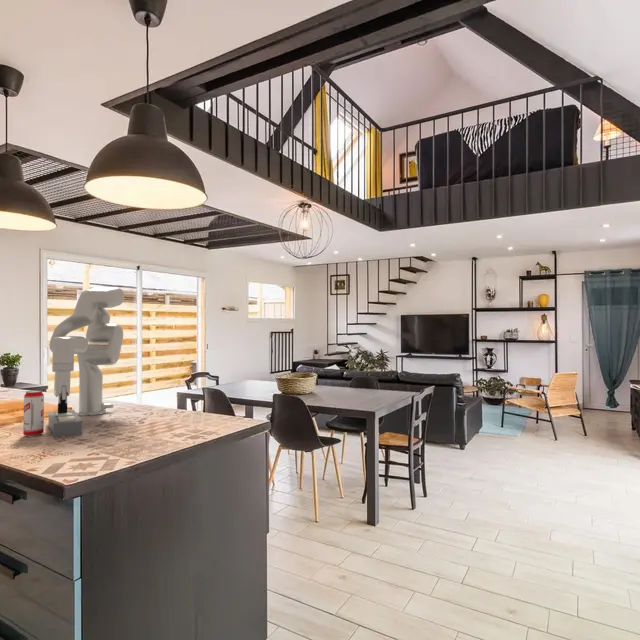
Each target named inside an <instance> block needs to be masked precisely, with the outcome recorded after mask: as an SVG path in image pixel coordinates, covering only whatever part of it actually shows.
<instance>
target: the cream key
mask: <svg viewBox="0 0 640 640" xmlns="http://www.w3.org/2000/svg"><path fill="white" fill-rule="evenodd" d="M73 420H75V417H74V416H67V417H58V422H64V421H73Z"/></svg>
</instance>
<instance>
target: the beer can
mask: <svg viewBox="0 0 640 640" xmlns="http://www.w3.org/2000/svg"><path fill="white" fill-rule="evenodd" d="M44 414H45V395H44V393H43V390H37V389H35V390H34V389H33V390H26V391H25V393H24V395H23V425H22V426H23V432H22V433H23V436H25V437H27V436H33V437H38V435H39V436H41V435H42V434H43V433H44V427H45V426H44V425H45V423H44V422H45V421H44V417H45V415H44Z"/></svg>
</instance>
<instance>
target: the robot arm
mask: <svg viewBox="0 0 640 640" xmlns="http://www.w3.org/2000/svg"><path fill="white" fill-rule="evenodd" d="M124 301H125V291H123V289H122V288H119V287H90V288H88V289H85V290H83V291H82V292H81V293H80V294H79V297H78V300H77V301H76V305H75V307H74V310H73V313H72V314H71V315H70V316H68V317H67V318H65V319H64V320H63V321H61V322H60V323H59V324H58V325H57V326H56V327H55V328H54V330H53V332H52V336H51V338H50V340H49V350H50V352H51V353H52V360H51V361H52V362H51V363H52V366H51V368H52V369H51V371H52V373H54V383H53V384H54V389H53V390H54V391H53V395H54V396H55V398H57V399H58V400H57V401H58V403H57V411H58V414H61V413H67V410H68V397H69V396H70V394H71V372H74V371H75V366H74V365H75V355H76V357H77V362H78V371H79V378H78V381H79V382H78V383H79V385H78V386H79V387H78V389H79V392H78V397H79V398H78V410H76V411H75V412H76V414H77V415H78V416H79V417H83V416H84V417H86V416H88V415H90V416H96V414H99V415H102V414H101V413H103V414H105V413H106V412H107V410H106V409H112V408H114V403H104V402H103V381H104V380H103V377H104V375H103V372H102V370H101V369H100V367H99V366H112V365H115V364H117V363H118V361H119V358H120V354H121V350H122V344H123V341H124V329H123V328H122V326H121V325H120V324H117V323H110V321H111V315H110V313H109V312H108V310H107V309H110V308H111V309H112V308H114V307H115V308H116V307H118V306H121V305H122V304H123V302H124ZM84 327H87V330H86V333H85V337H84V336H77V335H76V336H74V335H69V334H70V333H71V332H74V331H76V330H79V329H82V328H84Z"/></svg>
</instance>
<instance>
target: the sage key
mask: <svg viewBox="0 0 640 640" xmlns="http://www.w3.org/2000/svg"><path fill="white" fill-rule="evenodd" d="M67 416H73V414H72V413H61V414H57V418H58V417H67Z"/></svg>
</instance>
